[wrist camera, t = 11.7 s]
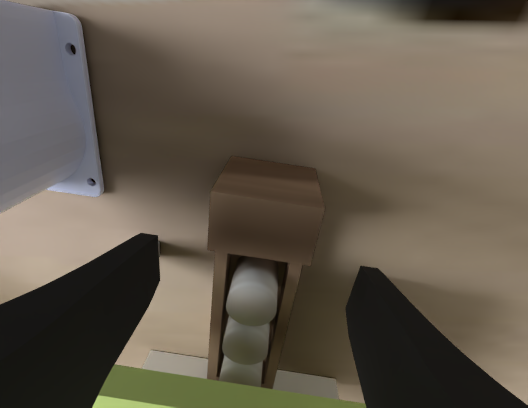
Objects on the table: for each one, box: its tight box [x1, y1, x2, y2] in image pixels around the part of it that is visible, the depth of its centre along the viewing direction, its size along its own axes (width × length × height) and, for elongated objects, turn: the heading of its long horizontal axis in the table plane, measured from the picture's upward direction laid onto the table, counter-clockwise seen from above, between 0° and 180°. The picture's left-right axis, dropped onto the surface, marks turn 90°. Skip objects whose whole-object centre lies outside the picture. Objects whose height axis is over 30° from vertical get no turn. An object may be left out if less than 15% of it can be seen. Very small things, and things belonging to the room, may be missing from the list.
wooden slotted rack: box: [207, 156, 325, 389], centre depth 18 cm, size 17×5×5 cm, turn 173°
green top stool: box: [92, 241, 366, 408], centre depth 18 cm, size 12×16×10 cm
